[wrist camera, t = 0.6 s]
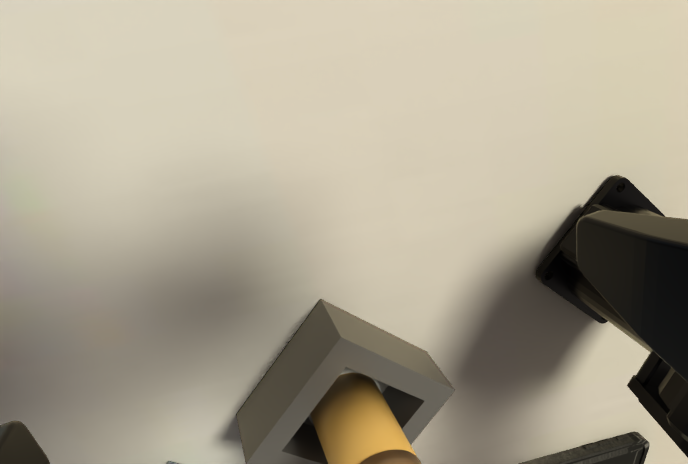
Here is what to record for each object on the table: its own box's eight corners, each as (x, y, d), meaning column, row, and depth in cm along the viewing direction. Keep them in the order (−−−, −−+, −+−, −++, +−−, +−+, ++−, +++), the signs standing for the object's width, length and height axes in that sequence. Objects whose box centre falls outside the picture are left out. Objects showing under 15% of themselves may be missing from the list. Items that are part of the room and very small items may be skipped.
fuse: (386, 372, 26) (469, 509, 20) (344, 426, 27) (411, 577, 20) (331, 347, 25) (400, 488, 18) (287, 405, 25) (338, 563, 18)
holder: (426, 351, 27) (455, 390, 25) (347, 451, 29) (367, 498, 26) (320, 299, 24) (341, 337, 21) (236, 414, 25) (246, 463, 23)
